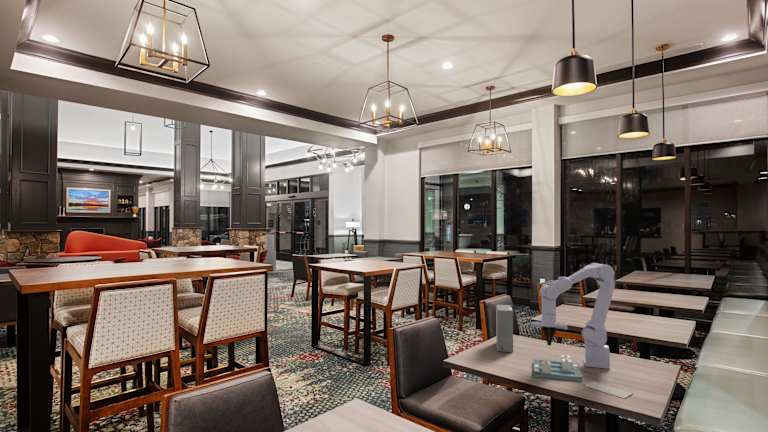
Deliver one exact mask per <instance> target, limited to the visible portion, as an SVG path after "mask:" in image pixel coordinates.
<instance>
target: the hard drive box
mask: <svg viewBox="0 0 768 432" xmlns="http://www.w3.org/2000/svg"><path fill="white" fill-rule="evenodd" d="M495 314H496V315H495V318H496V319H495V321H496V322H495V323H496V324H495V325H496V326H495V328H496V329H495V333H496V335H495V337H496V351H497V352H507V353H514V310H513V308H512V305H511V304H510V305H509V304H496V306H495Z"/></svg>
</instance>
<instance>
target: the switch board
mask: <svg viewBox="0 0 768 432" xmlns="http://www.w3.org/2000/svg"><path fill="white" fill-rule="evenodd" d="M545 360H546V359H544V360H543V359H536V358H535V359H534V358H533V363H532V364H533V365H532V366H533V367H532V368H533V373H532V375H533V377H534V378H535V377H536V378H546V379H553V380H562V381H563V380H565V381H573V382H579V383H580V382H582V383H583V380H584V379H583V374H582V372H581V368H580V366H579V365H580V364H579V363H578V362H572V371H566V370H562V365H561V361H555V360H548V361H549V362H551V374H550V373H542V361H545Z"/></svg>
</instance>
